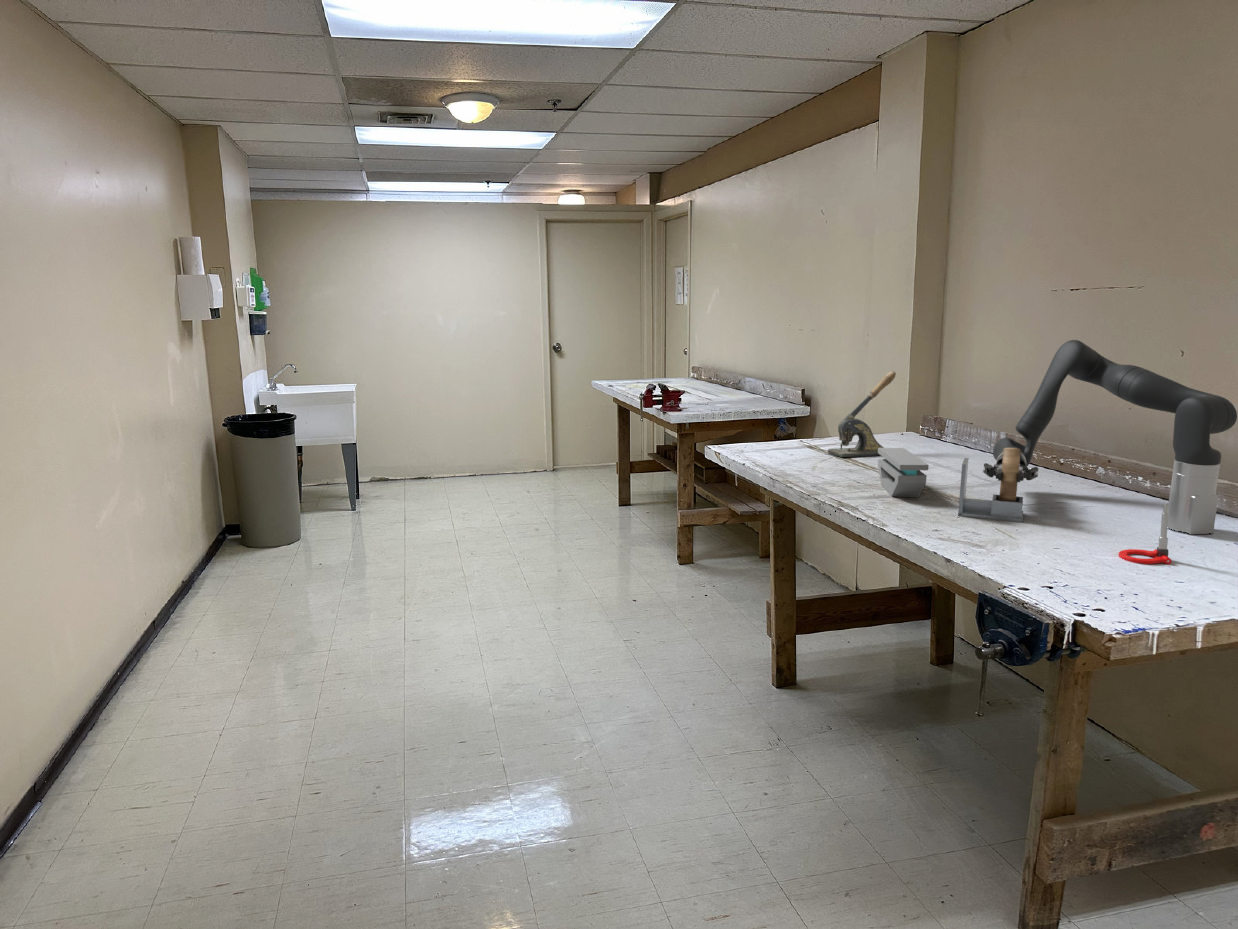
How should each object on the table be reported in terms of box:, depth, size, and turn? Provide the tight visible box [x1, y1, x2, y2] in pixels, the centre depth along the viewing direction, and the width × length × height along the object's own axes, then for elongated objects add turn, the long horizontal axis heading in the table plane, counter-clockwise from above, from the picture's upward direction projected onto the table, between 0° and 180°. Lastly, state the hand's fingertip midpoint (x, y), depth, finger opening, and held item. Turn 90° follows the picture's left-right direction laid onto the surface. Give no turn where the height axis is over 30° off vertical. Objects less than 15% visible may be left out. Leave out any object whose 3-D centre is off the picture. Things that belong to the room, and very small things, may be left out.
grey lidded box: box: [877, 447, 930, 497], centre depth 244 cm, size 25×8×11 cm, turn 177°
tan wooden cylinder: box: [998, 448, 1021, 502], centre depth 216 cm, size 4×4×16 cm
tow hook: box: [1118, 502, 1173, 565], centre depth 183 cm, size 8×13×9 cm
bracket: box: [957, 457, 1024, 523], centre depth 218 cm, size 9×16×14 cm, turn 64°
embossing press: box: [826, 370, 897, 458], centre depth 298 cm, size 11×24×30 cm, turn 103°
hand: (1009, 477), depth 214 cm, fingers closed on tan wooden cylinder, 4 cm apart
